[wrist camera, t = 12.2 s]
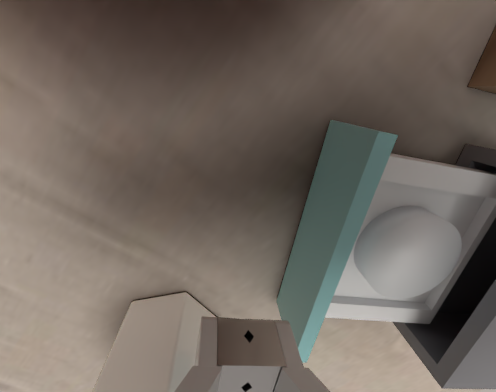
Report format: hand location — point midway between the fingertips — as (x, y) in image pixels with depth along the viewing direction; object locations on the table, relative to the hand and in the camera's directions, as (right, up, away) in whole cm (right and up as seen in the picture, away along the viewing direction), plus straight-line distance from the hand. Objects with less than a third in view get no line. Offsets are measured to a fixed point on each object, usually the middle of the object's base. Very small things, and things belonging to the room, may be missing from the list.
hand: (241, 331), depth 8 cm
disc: (+11, +1, +10) cm, 15 cm away
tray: (+10, +2, +11) cm, 16 cm away
